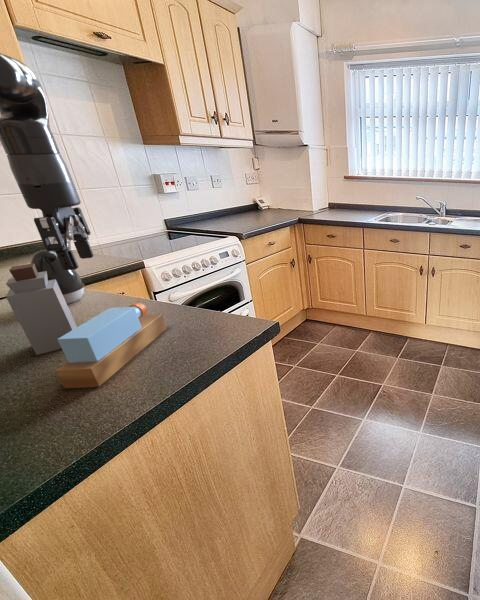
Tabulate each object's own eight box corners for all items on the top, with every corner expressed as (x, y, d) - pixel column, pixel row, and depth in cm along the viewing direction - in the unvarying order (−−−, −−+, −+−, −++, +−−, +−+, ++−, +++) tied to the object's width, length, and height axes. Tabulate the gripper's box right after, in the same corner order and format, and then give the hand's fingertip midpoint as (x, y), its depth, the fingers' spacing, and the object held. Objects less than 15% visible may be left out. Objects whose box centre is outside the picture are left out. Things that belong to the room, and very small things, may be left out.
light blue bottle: (97, 361, 61) (87, 337, 59) (68, 362, 61) (56, 339, 59) (154, 318, 77) (147, 298, 75) (131, 319, 77) (124, 299, 75)
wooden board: (99, 386, 61) (91, 368, 59) (64, 388, 61) (54, 370, 59) (166, 328, 81) (161, 313, 80) (140, 329, 81) (135, 314, 79)
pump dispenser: (52, 311, 90) (27, 257, 84) (34, 305, 94) (8, 252, 88) (97, 298, 99) (76, 247, 93) (78, 292, 103) (57, 243, 97)
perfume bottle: (40, 342, 76) (0, 266, 68) (79, 332, 80) (46, 259, 72) (36, 355, 71) (-6, 274, 64) (78, 344, 75) (43, 267, 68)
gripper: (37, 179, 67) (70, 256, 74) (-5, 184, 56) (39, 276, 62) (84, 177, 70) (112, 252, 77) (54, 182, 58) (90, 270, 65)
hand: (79, 263), depth 69 cm, fingers open, 8 cm apart
